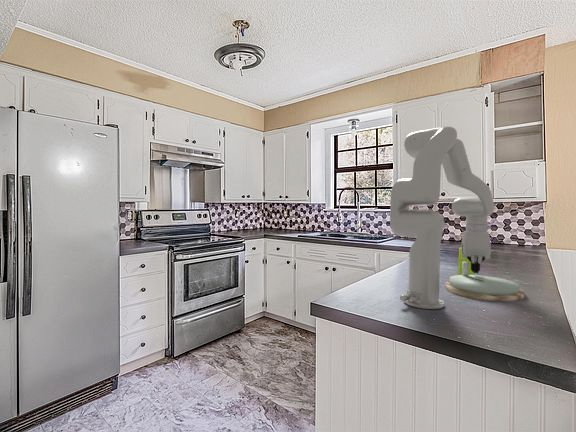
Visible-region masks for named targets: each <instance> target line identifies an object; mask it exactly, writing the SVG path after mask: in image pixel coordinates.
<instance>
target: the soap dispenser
mask: <svg viewBox="0 0 576 432" xmlns="http://www.w3.org/2000/svg"><path fill="white" fill-rule="evenodd" d="M460 235H462V236H463V232H461V233H460ZM461 254H462V253H461V247H459V248H458V272H457V273H458V274H457V275H462V262H469V275H474V273H473V272H472V270H471V262H470V261H469V260H468V259H466V258H462V257H461ZM467 256H468V255H467Z"/></svg>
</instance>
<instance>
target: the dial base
mask: <svg viewBox="0 0 576 432" xmlns="http://www.w3.org/2000/svg"><path fill="white" fill-rule="evenodd" d="M444 287H445V290H447V291H448V292H450V293H452V294H454V295H457V296H462V297H464V298H465V297H466V298H470V299H474V300H479V301H480V300H481V301H489V302H500V303H501V302H504V303H505V302H506V303H507V302H518V301H521V300H524V299H525V296H526V295H525V291H524V290H523V289H522V288H520V292H519V293H517V294H513V295H489V294H480V293H474V292H469V291H465V290H461V289H458V288H455V287H453V286H451V285H450V280H448V281H446V282H445V284H444Z"/></svg>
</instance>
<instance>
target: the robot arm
mask: <svg viewBox="0 0 576 432" xmlns="http://www.w3.org/2000/svg"><path fill="white" fill-rule="evenodd" d="M403 146H404V150H405V151H406V153H407V154H408V155H409V156H410V157H412V158H414V161H413V168H412V170H413V171H412V177H411V178H409V177H408V178H401V179H398V180H396V181H395V182H394V183H393V185H392V187H391V190H390V202H389V203H390V204H389V205H390V208H389V209H390V210H389V225H390V229H391V231H392V233H393V234H394V236H395V235H396V236H398V237H406V238H415V241H414V242H413V243H412V245H411V246H410V249H409V252H408V254H409V255H408V259H409V260H408V264H409V265H408V289H407V293H406V294H401V295H400V296H399V300H400V301H401V302H403V303H405V304H406V305H408V306H409V307H414V308H418V309H424V310H425V309H426V310H437V309H443V307H445V301H444V300H443V299H440V275H441V244H442V243H441V242H442V237H443V233H444V228H445V218H444V217H443V215H442V214H441V213H440V212H439V211H436V210H430V209H410V207H413V206H414V207H425V206H426V207H428V206H435V205H436V204H437V203H438V202H439V200H440V196H441V195H440V194H441V175H442V174H441V173H442V167H443V170H444V174H445V178H446V180H447V182H448V183H449V184H451V185H453V186H455V187H457V188H460V189H461V188H462V189H464V190H467V191H470V192H471V193H474V194H475V195H476V196H477V197H473V196H472V197H458V198H456V199H455V200H453V202H452V204H451V210H452V213H453V214H455V215H456V216H458V217H465V222H466V223H465V230H464V231H463V232H462V233H463V235H462V237H461V247H460V248H461V253H462V254H461V257H462V258H466V259H468V260H469V261H470V262H471V270H472V272H473V274H479V272H480V271H481V263H482V262H484V261H485V260H490V259H491V258H492V257H491V253H492V250H491V249H492V248H491V247H492V246H491V236H490V232H489V231H488V230H491V229H492V226H491V225H489V224H488V217H490V216H492V214H493V213H494V210H495V202H494V197H493V194H492V191H491V188H490V186H489V185H487V183H485V182H484V180H483V179H481V178H479V177H478V176H477V175H475V174H474V173H473V172H472V169H471V166H470V162H469V158H468V155H467V152H466V151H467V150H466V148H465V145H464V142H463V141H462V140H461V139H458V131H457V129H456V128H455V127H452V126H440V127H433V128H428V129H423V130H419V131H414V132H411V133H409V134H408V135H407V136H406V137H405V139H404V144H403ZM467 255H468V256H467ZM475 257H476V259H475Z"/></svg>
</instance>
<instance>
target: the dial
mask: <svg viewBox="0 0 576 432" xmlns="http://www.w3.org/2000/svg"><path fill="white" fill-rule="evenodd" d="M449 281H450V285H451V286H453V287H455V288H458V289H461V290H465V291H469V292H474V293H480V294H489V295H513V294H517V293H519V292H520V289H521V288H520V284H519V283H517V282H515V281H512V280H509V279H506V278H505V279H504V278H501V277H496V276H495V277H494V276H489V275H479V274H478V275H477V274H473V275H469V262H462V275H458V274H457V275H451V276H450V277H449Z"/></svg>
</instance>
